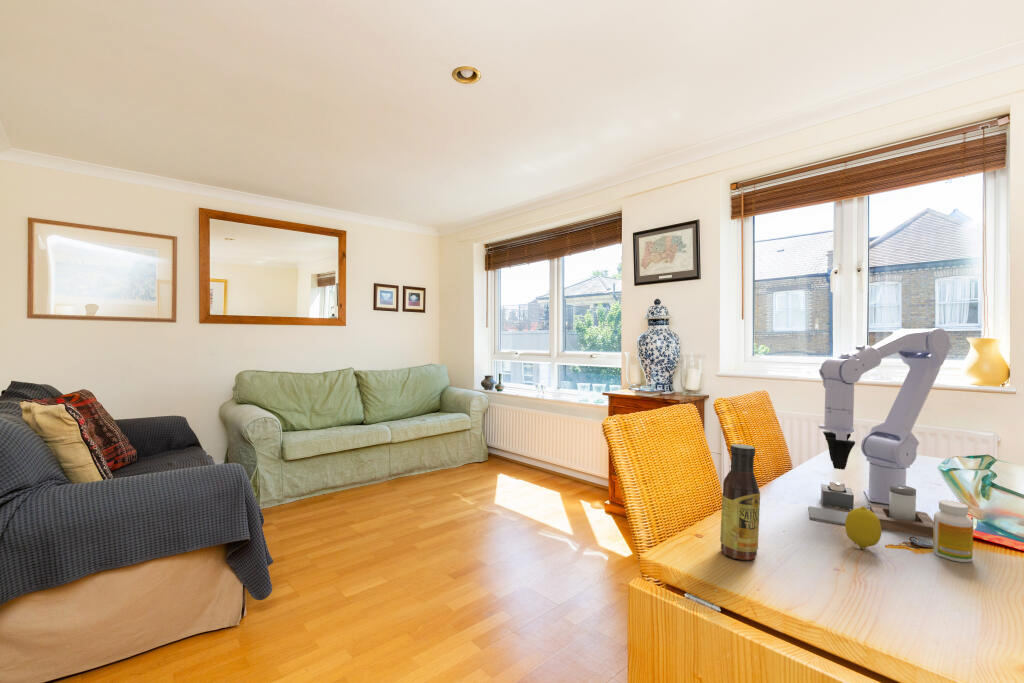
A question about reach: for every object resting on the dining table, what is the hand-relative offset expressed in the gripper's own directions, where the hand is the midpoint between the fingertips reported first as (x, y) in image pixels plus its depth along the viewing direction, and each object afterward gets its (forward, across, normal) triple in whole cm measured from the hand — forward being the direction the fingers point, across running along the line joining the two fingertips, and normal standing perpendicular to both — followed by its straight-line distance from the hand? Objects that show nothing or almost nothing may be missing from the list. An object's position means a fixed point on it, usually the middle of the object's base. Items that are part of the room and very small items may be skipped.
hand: (837, 465), depth 115 cm
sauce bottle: (+10, +42, -18) cm, 47 cm away
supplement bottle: (+10, +22, +16) cm, 29 cm away
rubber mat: (+9, +11, -2) cm, 15 cm away
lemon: (+10, +27, +2) cm, 29 cm away
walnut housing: (+9, +8, +11) cm, 17 cm away
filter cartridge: (+9, +8, +11) cm, 17 cm away
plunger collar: (+9, 0, 0) cm, 9 cm away
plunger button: (+7, 0, 0) cm, 7 cm away
